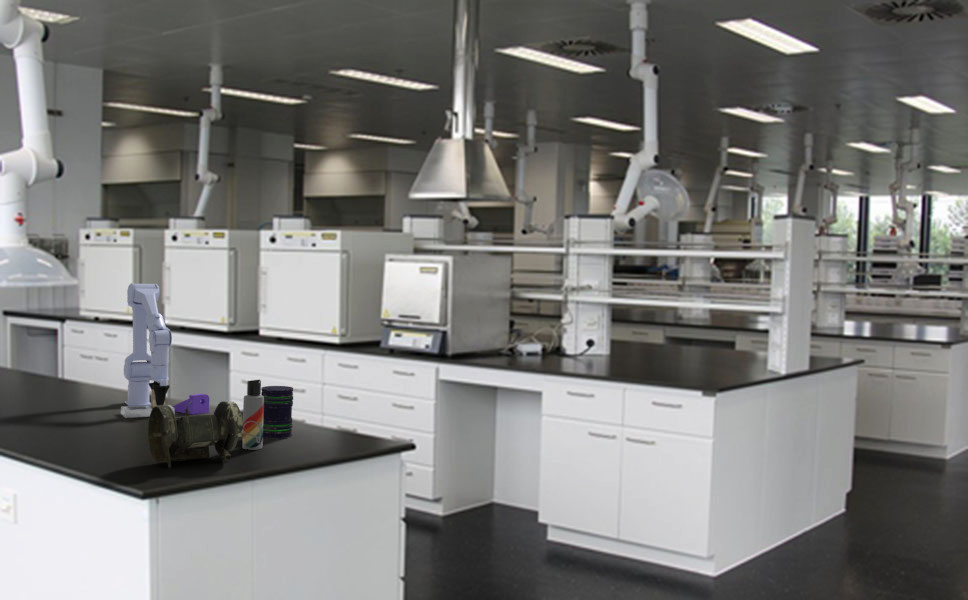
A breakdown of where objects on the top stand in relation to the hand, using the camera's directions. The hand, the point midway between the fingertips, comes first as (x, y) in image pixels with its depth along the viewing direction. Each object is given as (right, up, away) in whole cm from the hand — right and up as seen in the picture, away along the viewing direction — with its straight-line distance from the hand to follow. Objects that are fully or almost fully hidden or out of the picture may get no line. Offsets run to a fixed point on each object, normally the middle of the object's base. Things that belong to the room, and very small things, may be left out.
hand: (158, 404), depth 323 cm
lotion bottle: (+44, -7, -50) cm, 67 cm away
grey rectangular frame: (-3, -3, -2) cm, 5 cm away
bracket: (+8, -4, +8) cm, 12 cm away
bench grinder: (+34, -8, -71) cm, 79 cm away
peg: (0, -2, 0) cm, 2 cm away
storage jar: (+47, -7, -30) cm, 56 cm away
